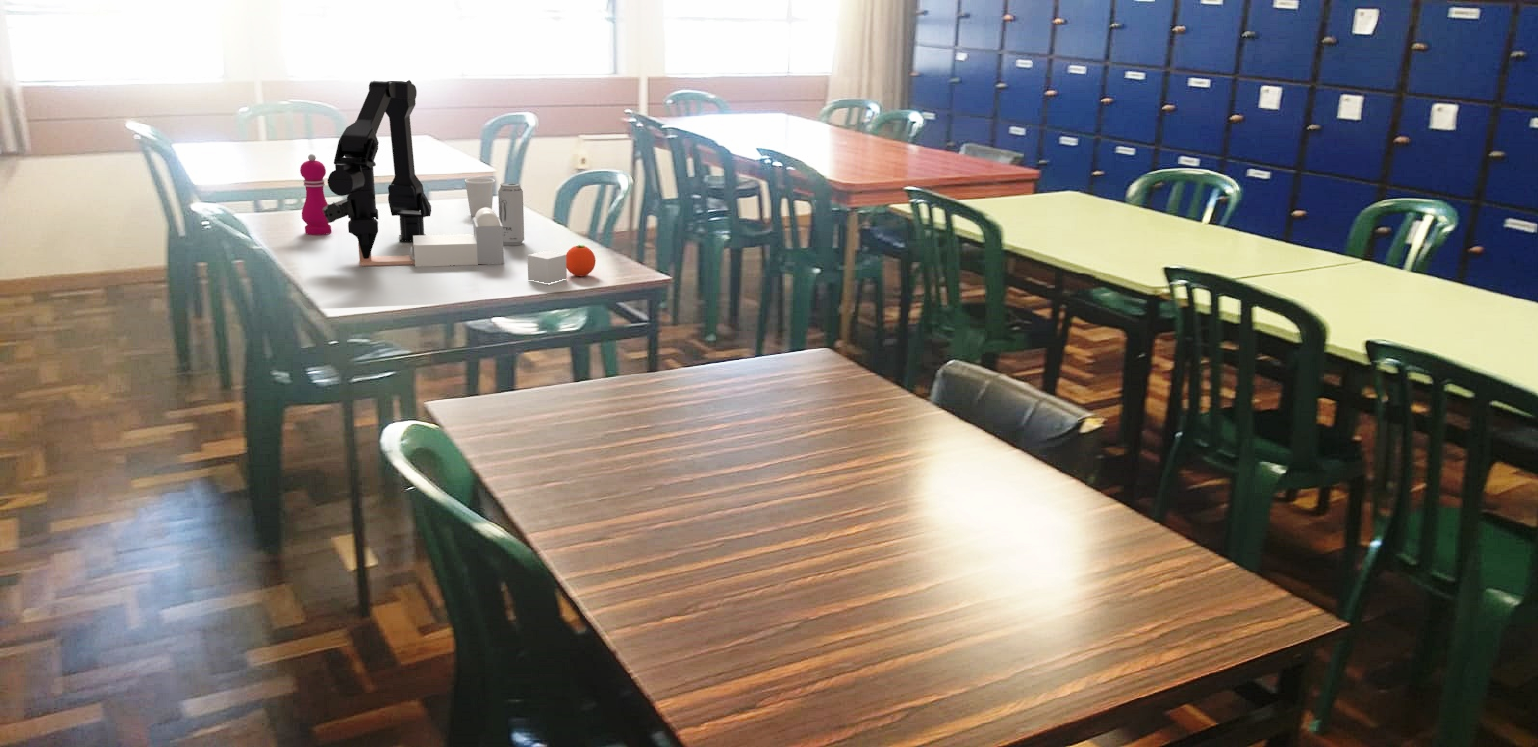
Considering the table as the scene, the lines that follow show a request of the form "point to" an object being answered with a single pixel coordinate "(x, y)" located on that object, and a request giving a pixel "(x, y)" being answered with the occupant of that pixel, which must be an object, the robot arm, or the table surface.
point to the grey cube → (547, 267)
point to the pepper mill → (314, 197)
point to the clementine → (580, 260)
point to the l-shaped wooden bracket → (384, 260)
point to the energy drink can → (511, 213)
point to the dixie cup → (479, 193)
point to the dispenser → (463, 244)
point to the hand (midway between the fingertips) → (366, 256)
